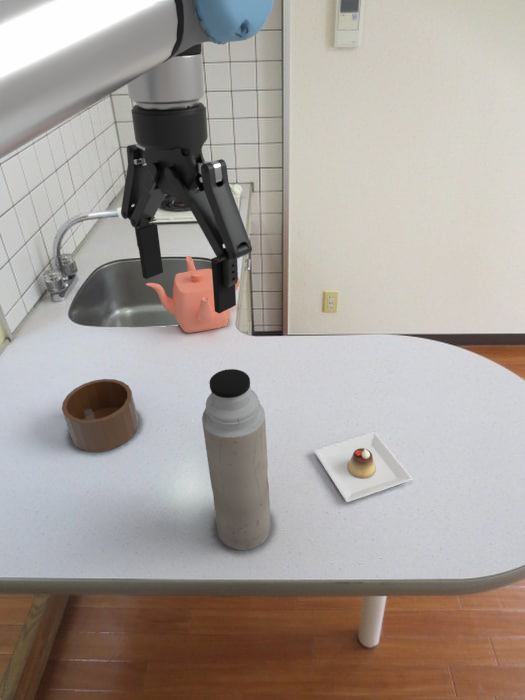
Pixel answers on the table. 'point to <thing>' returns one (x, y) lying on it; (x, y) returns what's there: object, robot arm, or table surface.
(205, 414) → the thermos bottle
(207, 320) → the pot
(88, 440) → the bottle holder
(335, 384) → the table surface
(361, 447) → the dessert
